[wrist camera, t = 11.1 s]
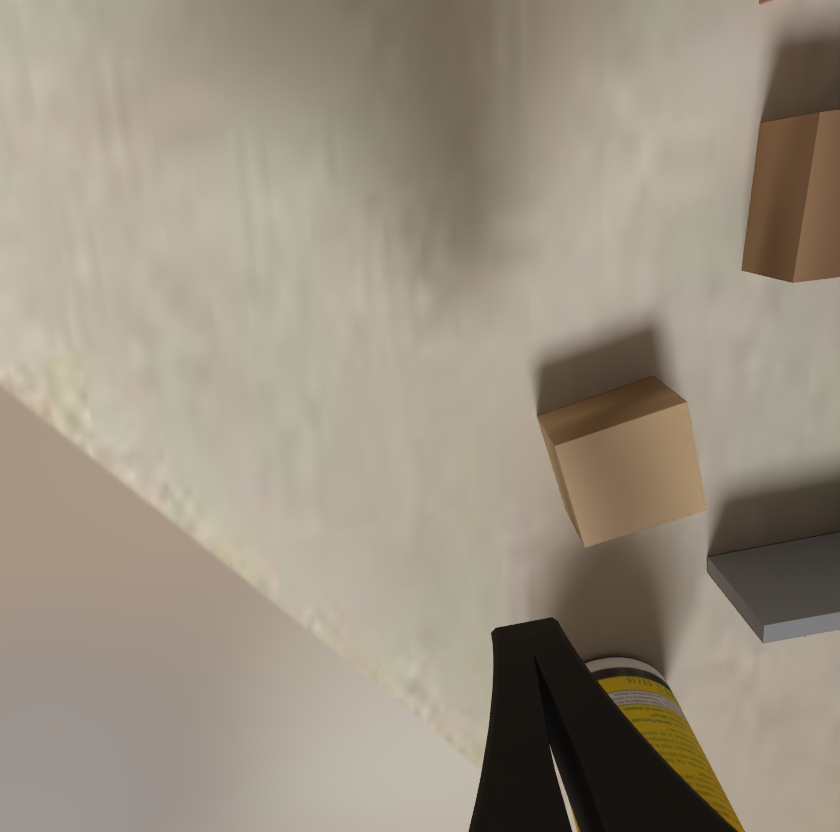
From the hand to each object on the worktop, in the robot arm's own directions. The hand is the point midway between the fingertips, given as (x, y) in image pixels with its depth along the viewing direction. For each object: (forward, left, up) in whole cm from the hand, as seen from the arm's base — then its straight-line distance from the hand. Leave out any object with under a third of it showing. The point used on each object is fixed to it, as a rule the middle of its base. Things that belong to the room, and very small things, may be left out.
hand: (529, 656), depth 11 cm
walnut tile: (-11, -7, -8) cm, 16 cm away
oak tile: (-5, 0, -8) cm, 9 cm away
